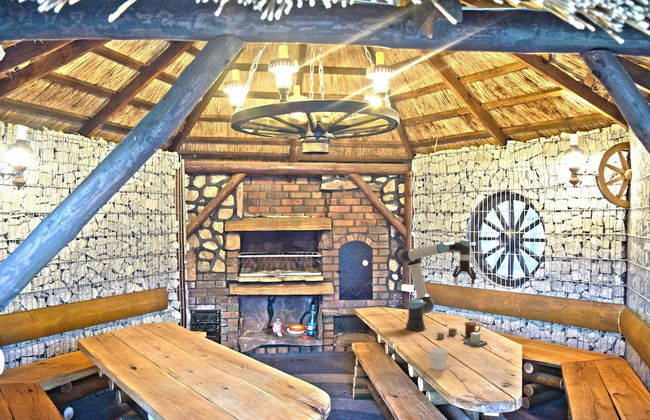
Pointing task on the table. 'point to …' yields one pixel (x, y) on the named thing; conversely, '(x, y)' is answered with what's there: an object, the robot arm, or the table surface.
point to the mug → (470, 328)
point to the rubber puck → (440, 335)
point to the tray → (475, 343)
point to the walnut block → (452, 331)
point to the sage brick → (475, 338)
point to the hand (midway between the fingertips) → (464, 287)
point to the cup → (438, 357)
